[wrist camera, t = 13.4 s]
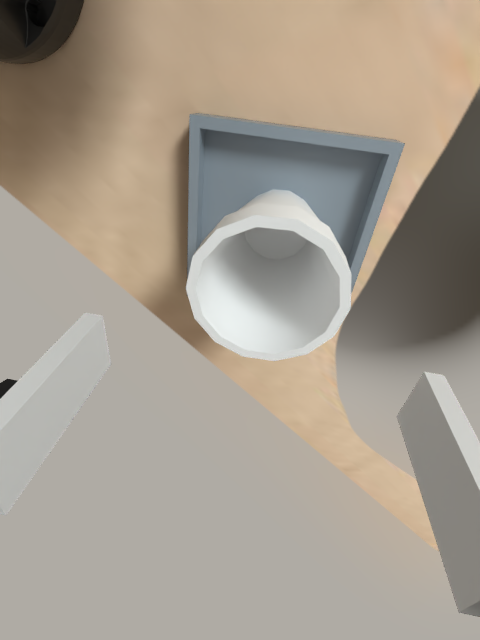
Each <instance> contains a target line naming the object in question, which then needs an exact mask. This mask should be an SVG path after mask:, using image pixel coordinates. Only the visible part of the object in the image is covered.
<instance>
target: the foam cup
mask: <svg viewBox="0 0 480 640" xmlns="http://www.w3.org/2000/svg"><path fill="white" fill-rule="evenodd" d="M186 291H187V294H188V298H189V301H190V305H191V308H192V312H193V315H194V318H195V319H196V321H197V322H198V323H199V324H200V325H201V326H202V328H203V329H204V330H205V331H206V332H207V333H208V334H209V336H210V337H211V338H212V339H213V340H214V341H215V342H216V343H218V344H220V345H222V346H224V347H226V348H228V349H230V350H231V351H233V352H235V353H237V354H239V355H241V356H243V357H250V358H257V359H264V360H271V361H278V360H282V359H287V358H292V357H297V356H302V355H306V354H308V353H310V352H311V351H313V350H314V349H316V348H317V347H319V346H320V345H322V344H323V343H325V342H326V341H328V340H329V339H331V338H332V337H334V335H335V334H336V332H337V330H338V329H339V327H340V325H341V324H342V322H343V320H344V319H345V317H346V315H347V314H348V312H349V310H350V309H351V271H350V268H349V265H348V262H347V259H346V256H345V254H344V253H343V251H342V249H341V247H340V245H339V244H338V242H337V240H336V238H335V236H334V234H333V233H332V231H331V229H330V227H329V226H327V225H326V224H324V223H323V222H321V221H320V220H319V219H318V217H317V216H316V215H315V213H314V212H313V211H312V210H311V208H310V207H309V206H308V204H307V203H306V202H305V201H304V200H303V199H302V198H300V197H299V196H297V195H296V194H294V193H293V192H291V191H286V190H275V189H273V190H270V191H268V192H265V193H263V194H260V195H258V196H256V197H255V198H254V199H252V200H251V201H250V202H248V203H247V204H246V205H244V206H243V207H242V208H240V209H239V210H238V211H236V212H234V213H231V214H229V215H226V216H224V218H223V219H222V220H221V221H220V222H219V223H218V224H217V225H216V227H215V228H214V229H213V230H212V231H211V232H210V233H209V235H208V236H207V237H206V238H205V239H204V240H203V241H202V243H201V244H200V246H199V247H198V249H197V250H196V252H195V253H194V255H193V257H192V261H191V266H190V271H189V275H188V280H187V284H186Z"/></svg>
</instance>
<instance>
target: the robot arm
mask: <svg viewBox="0 0 480 640" xmlns="http://www.w3.org/2000/svg"><path fill="white" fill-rule="evenodd" d="M82 4H83V0H0V62H7V63H17V64H23V63H31V62H36V61H39V60H41V59H44V58H46V57H48V56H49V55H51V54H52V53H54V52H55V51H56V50H57V49H58V48H59V47H60V46H61V45H62V44H63V43H64V42H65V41H66V39H67V38H68V37H69V35H70V33H71V32H72V30H73V28H74V26H75V24H76V22H77V19H78V17H79V14H80V11H81V8H82ZM110 365H111V360H110V354H109V348H108V342H107V337H106V331H105V325H104V319H103V316H102V315H97V314H91V313H84V314H83V315H82V316H81V317H80V318H79V319H78V320H77V321H76V322H75V323H74V324H73V325H72V326H71V327H70V328H69V330H67V332H66V333H65V334H64V335H63V336H62V337H61V338H60V339H59V340H58V341H57V342H56V343H55V344H54V345H53V346H52V347H51V348H50V349H49V350H48V351H47V352H46V353H45V354H44V355H43V356H42V357H41V358H40V359H39V360H38V361H37V362H36V363H35V364H34V365H33V366H32V367H31V368H30V369H29V370H28V371H27V372H26V373H25V374H24V375H23V376H22V377H21V378H20V379H19V380H18V381H16V380H11V379H6V380H5V381H3V382H1V383H0V514H2V515H7V513H8V512H9V510H10V509H11V508H12V506H13V505H14V503H15V502H16V500H17V499H18V498H19V496H20V495H21V493H22V492H23V490H24V489H25V487H26V486H27V485H28V483H29V482H30V480H31V479H32V477H33V476H34V474H35V473H36V472H37V470H38V469H39V467H40V466H41V464H42V463H43V461H44V460H45V459H46V457H47V456H48V454H49V453H50V451H51V450H52V449H53V447H54V446H55V444H56V443H57V441H58V440H59V439H60V437H61V435H62V434H63V433H64V431H65V430H66V428H67V427H68V426H69V424H70V423H71V421H72V420H73V418H74V417H75V415H76V414H77V413H78V411H79V410H80V408H81V407H82V405H83V404H84V403H85V401H86V400H87V398H88V397H89V395H90V394H91V392H92V391H93V390H94V388H95V387H96V385H97V384H98V382H99V381H100V379H101V378H102V377H103V375H104V374H105V372H106V371H107V369H108V368H109V367H110ZM397 419H398V422H399V425H400V428H401V431H402V435H403V438H404V441H405V444H406V447H407V451H408V454H409V457H410V460H411V463H412V466H413V469H414V473H415V476H416V479H417V482H418V485H419V488H420V492H421V495H422V498H423V501H424V504H425V507H426V511H427V514H428V517H429V520H430V523H431V526H432V530H433V533H434V536H435V539H436V542H437V545H438V549H439V552H440V555H441V558H442V561H443V564H444V567H445V571H446V573H447V577H448V580H449V583H450V586H451V589H452V593H453V596H454V599H455V602H456V605H457V609H458V611H459V613H464V614H469V615H473V616H478V617H480V442H479V440H478V438H477V436H476V435H475V433H474V431H473V429H472V427H471V425H470V423H469V421H468V419H467V417H466V416H465V414H464V412H463V410H462V408H461V406H460V404H459V403H458V401H457V399H456V397H455V395H454V393H453V391H452V390H451V388H450V386H449V384H448V382H447V380H446V378H445V376H444V375H439V374H434V373H428V372H424V373H423V374H422V376H421V378H420V379H419V381H418V383H417V384H416V386H415V387H414V389H413V390H412V392H411V394H410V395H409V397H408V399H407V400H406V402H405V404H404V405H403V407H402V408H401V410H400V412H399V413H398V415H397Z"/></svg>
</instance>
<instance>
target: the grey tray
mask: <svg viewBox="0 0 480 640" xmlns="http://www.w3.org/2000/svg"><path fill="white" fill-rule="evenodd" d="M404 145H405V143H402V142H400V141H397V140H392V139H385V138H378V137H370V136H363V135H356V134H348V133H341V132H334V131H326V130H319V129H312V128H304V127H297V126H290V125H282V124H275V123H268V122H260V121H253V120H246V119H238V118H231V117H224V116H216V115H209V114H202V113H195V114H190V123H189V195H188V267H187V280H188V275H189V271H190V266H191V261H192V257H193V255H194V253H195V252H196V250H197V249H198V247H199V246H200V244H201V243H202V241H203V240H204V239H205V238H206V237H207V236H208V235H209V233H210V232H211V231H212V230H213V229H214V228H215V227H216V225H217V224H218V223H219V222H220V221H221V220H222V219H223V218H224V216H226V215H229V214H231V213H234V212H236V211H238V210H239V209H240V208H242V207H243V206H244V205H246V204H247V203H248V202H250V201H251V200H252V199H254V198H255V197H256V196H258V195H260V194H263V193H265V192H268V191H270V190H273V189H275V190H286V191H291V192H293V193H294V194H296V195H297V196H299V197H300V198H302V199H303V200H304V201H305V202H306V203H307V204H308V206H309V207H310V208H311V210H312V211H313V212H314V213H315V215H316V216H317V217H318V219H319V220H320V221H321V222H323V223H324V224H326V225H327V226H329V227H330V229H331V231H332V233H333V234H334V236H335V238H336V240H337V242H338V244H339V245H340V247H341V249H342V251H343V253H344V254H345V256H346V259H347V262H348V265H349V268H350V271H351V293H352V290H353V287H354V285H355V282H356V279H357V276H358V273H359V271H360V268H361V265H362V262H363V259H364V257H365V254H366V251H367V248H368V245H369V243H370V240H371V237H372V234H373V231H374V229H375V226H376V223H377V220H378V217H379V215H380V212H381V209H382V206H383V203H384V201H385V198H386V195H387V192H388V189H389V187H390V184H391V181H392V178H393V175H394V173H395V170H396V167H397V164H398V161H399V159H400V156H401V153H402V150H403V147H404ZM187 296H188V294H187Z"/></svg>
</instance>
